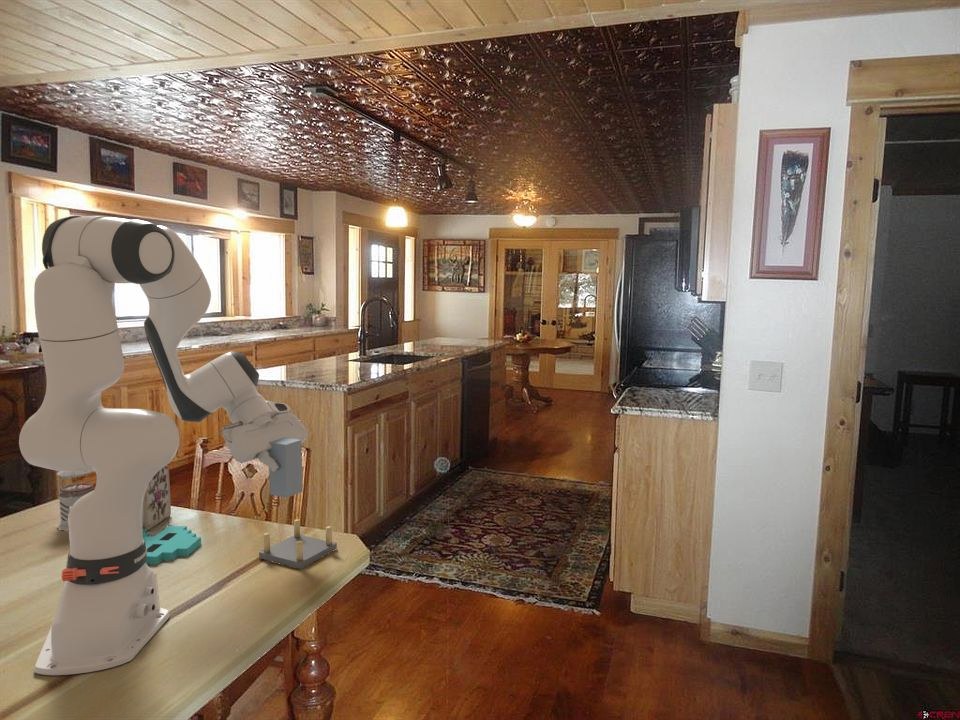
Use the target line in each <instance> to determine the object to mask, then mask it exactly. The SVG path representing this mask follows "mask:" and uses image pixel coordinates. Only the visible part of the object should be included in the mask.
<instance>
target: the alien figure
mask: <svg viewBox="0 0 960 720" xmlns="http://www.w3.org/2000/svg"><path fill="white" fill-rule="evenodd" d="M142 532H143V539H144V540H145V542H146V547H147V561H146V564H147V565H158V564H159V563H161V562H162V561H173V560H175V559H176V558H177V557H188V556H190V554H192V553H193V552H194V551H195V550H197V548H199V547H200V546H201V545H202V537H200V536H197V532H196V533H193V532H192V529H188V526H187V525H182V526H181V525H169V526H166V527H165V528H164V529H163V530H161V531H160V532H158V533H157V534H155V535H154V536H153V535H151V532H147V531H146V529H142Z"/></svg>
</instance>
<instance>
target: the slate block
mask: <svg viewBox="0 0 960 720" xmlns="http://www.w3.org/2000/svg"><path fill="white" fill-rule="evenodd" d="M269 443H270V444H271V446H272V448H271V449H269V456H270V457H271V458H272V459H274V460H278V461H279V463H280V464H281V468H280V469H279V470H277V471H274V472H273V471H272V470H271V469H270V467H269V466H268V470H269V471H268V472H269V477H268V478H269V495H270V496H276V497H281V498H286V499H287V498H290V497H292V496H295V495H298V494H300V493H302V492H303V488H304V487H303V454H302V453H303V450H302V449H303V447H302V445H303V443H302V441H301V440H299V439H292V438H282V439H278V440H275V441H271V442H269Z"/></svg>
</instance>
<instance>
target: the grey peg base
mask: <svg viewBox="0 0 960 720" xmlns="http://www.w3.org/2000/svg"><path fill="white" fill-rule="evenodd" d="M262 535H263V536H262V541H263V544H262V545H263V549H262V550H260V551H259V552H258V559H259V558H260V559H259V560H262V559H265V560H264V561H266V560H269V561H268V562H270V561H273V562H272V563H274V562H275V563H274V564H277V563H280V564H279V565H281V564H283V565H282V566H285V565H288V566H287V567H289V566H291V567H290V568H292V567H295V568H294V569H296V568H299V569H298V570H300V569H301V570H302V569H304V568H306V567H308V566H310V565H311V564H313V563H315V562H316V560H317V561H318V559H319V560H320V559H322V558H323V557H322V556H324V557H326V556H327V555H326V554H328V553H329V554H331V553H333V552H334V551H333V550H335V549H337V550H338V545H337V544H338V543H337V542H334V541H333V526H331V525H329V526H325V539H320V538H315V537H311V536H307V535H302V534H301V519H299V518H298V519H294V520H293V535H292V536H289V537H288V538H286V539H284V540H282V541H279V542H277V543H275V544H273V545H271V533H269V532H264V533H262ZM332 551H333V552H332ZM335 551H336V550H335ZM330 552H331V553H330ZM329 554H328V555H329ZM325 555H326V556H325ZM321 557H322V558H321ZM314 561H315V562H314ZM309 564H310V565H309ZM307 565H308V566H307ZM305 566H306V567H305ZM303 567H304V568H303Z"/></svg>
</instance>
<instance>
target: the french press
mask: <svg viewBox="0 0 960 720" xmlns="http://www.w3.org/2000/svg"><path fill="white" fill-rule="evenodd" d="M93 473H94V472H83V471H57V473H56V475H57V476H58V477H60V478H61V479H60V489H59V491H60V493H59V494H58V500H59V511H60V512H59V515H60V519H59V520H60V521H59V523H58V524H57V525H58V526H57V525H56V527H58V528H59V529H61V530H69V525H68V514H69V511H70V509H71V508H70V507H72V506H73V505H74V503H75V502H76V501H77V500H78V499H80V498H81V497H82V496H84V495H86V494H88V493H89V492H91V491H93V490H95V488H93V486H94V484H93V483H92V482H78V477H85V476H89V475H90V474H93ZM74 478H75V483H71V484H70V480H73V479H74ZM63 479H65V480H66V481H67V484H66V485H64V486H63V484H62V483H63ZM61 530H60V531H61Z"/></svg>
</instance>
